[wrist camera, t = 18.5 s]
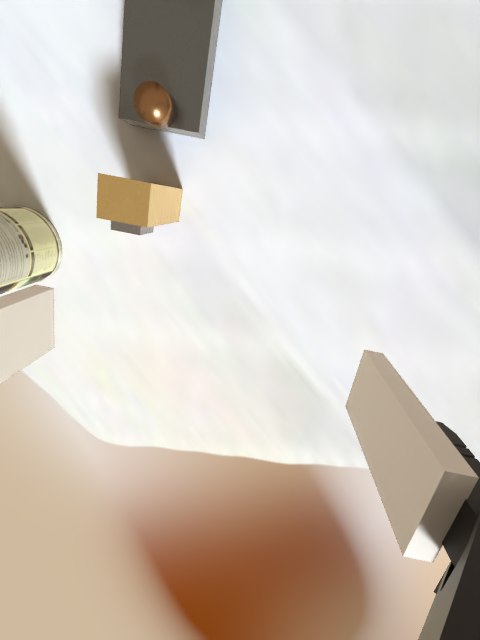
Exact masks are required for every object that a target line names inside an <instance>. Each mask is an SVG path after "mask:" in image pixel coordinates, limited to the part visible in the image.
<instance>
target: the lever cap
mask: <svg viewBox="0 0 480 640" xmlns="http://www.w3.org/2000/svg"><path fill="white" fill-rule="evenodd" d="M181 198H182V189H179V188H174V187H169V186H164V185H159V184H153V183H148V182H143V181H138V180H132V179H127V178H122V177H116V176H111V175H106V174H100V173H98V191H97V218H101V219H106V220H111V230H116V231H121V232H126V233H132V234H137V235H143V234H147V233H151V232H153V227H154V226H158V225H163V224H169V223H174V222H179V216H180V207H181Z"/></svg>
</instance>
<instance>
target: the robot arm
mask: <svg viewBox="0 0 480 640" xmlns="http://www.w3.org/2000/svg"><path fill="white" fill-rule="evenodd" d="M53 348H54V288H50V287H45V286H40V285H34V286H31V287H28V288H25V289H22V290H19V291H16V292H14V293H11V294H8V295H5V296H2V297H0V384H1V383H2V382H4V381H5V380H7V379H8V378H10V377H11V376H13V375H14V374H16V373H17V372H19V371H20V370H22V369H23V368H25V367H26V366H28V365H29V364H31V363H32V362H34V361H35V360H37V359H38V358H40V357H41V356H43V355H44V354H46V353H47V352H49V351H50V350H52V349H53ZM346 409H347V411H348V414H349V417H350V419H351V422H352V424H353V427H354V430H355V432H356V435H357V437H358V440H359V443H360V445H361V448H362V450H363V453H364V456H365V458H366V461H367V464H368V466H369V469H370V471H371V474H372V477H373V479H374V482H375V484H376V487H377V490H378V492H379V495H380V497H381V500H382V503H383V505H384V508H385V510H386V513H387V516H388V518H389V521H390V523H391V526H392V528H393V531H394V534H395V536H396V539H397V541H398V544H399V547H400V549H401V552H402V555H403V556H405V557H410V558H415V559H419V560H424V561H429V562H434V560H435V558H436V556H437V555H438V552H439V551H440V549H441V547H442V545H443V546H444V548H445V550H446V552H447V554H448V556H449V558H450V560H451V562H450V564H449V566H448V567H447V569H446V571H445V573H444V574H443V576H442V578H441V580H440V582H439V583H438V585H437V587H436V589H435V590H434V592H435V593H436V596H435V599H434V601H433V604H432V606H431V609H430V611H429V614H428V616H427V619H426V622H425V624H424V627H423V629H422V632H421V634H420V637H419V639H418V640H480V462H479V461H478V460H477V459H475V458H474V457H475V456H474V455H473V454H472V453H471V451H470V450H469V449H467V448H466V445H465V444H464V443H463V442H462V440H461V439H460V438H459V437H458V436H457V434H455V433H454V432H453V431H452V430H450V429H449V428H448V427H447V426H445V425H444V424H443V423H441V422H436V421H435V420H434V419H433V418H432V416H431V415H430V414H429V413H428V411H427V410H426V409H425V407H424V406H423V405H422V403H421V402H420V401H419V400H418V398H417V397H416V396H415V394H414V393H413V392H412V390H411V389H410V388H409V387H408V385H407V384H406V383H405V381H404V380H403V379H402V378H401V376H400V375H399V374H398V372H397V371H396V370H395V368H394V367H393V366H392V365H391V363H390V362H389V361H388V359H387V358H386V357H385V355H384V354H383V353H378V352H373V351H368V350H364V353H363V356H362V359H361V362H360V365H359V367H358V370H357V373H356V376H355V379H354V382H353V385H352V388H351V391H350V394H349V397H348V400H347V403H346Z"/></svg>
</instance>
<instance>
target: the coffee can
mask: <svg viewBox="0 0 480 640" xmlns="http://www.w3.org/2000/svg"><path fill="white" fill-rule="evenodd" d="M61 258H62V246H61V241H60V238H59V236H58V233H57V231H56V230H55V228H54V227H53V225H52V224H51V223H50V222H49V221H48V220H47V219H46V218H45V217H44V216H43V215H42V214H40V213H38V212H37V211H35V210H33V209H30V208H27V207H22V206H13V207H0V294H2V293H5V292H8V291H11V290H14V289H17V288H20V287H23V286H26V285H29V284H32V283H35V282H38V281H42V280H45V279H47V278H49V277H50V276H52V275H53V274H54V273H55V272H56V270H57V269H58V267H59V265H60V262H61Z"/></svg>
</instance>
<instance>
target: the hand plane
mask: <svg viewBox="0 0 480 640" xmlns="http://www.w3.org/2000/svg"><path fill="white" fill-rule="evenodd" d="M221 7H222V0H125V7H124V26H123V46H122V66H121V86H120V106H119V118H120V119H122V120H123V121H125V122H127V123H129V124H130V125H134V126H139V127H144V128H150V129H155V130H160V131H165V132H171V133H176V134H181V135H187V136H192V137H197V138H202V139H205V131H206V124H207V116H208V108H209V100H210V92H211V85H212V77H213V69H214V61H215V53H216V46H217V38H218V30H219V22H220V15H221Z"/></svg>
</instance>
